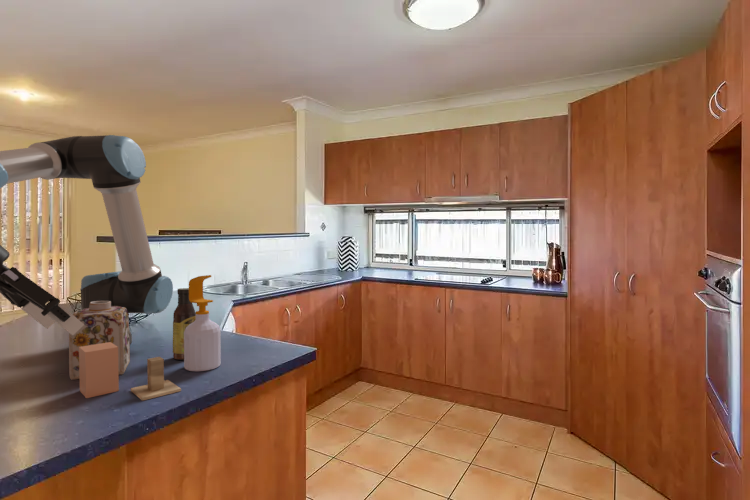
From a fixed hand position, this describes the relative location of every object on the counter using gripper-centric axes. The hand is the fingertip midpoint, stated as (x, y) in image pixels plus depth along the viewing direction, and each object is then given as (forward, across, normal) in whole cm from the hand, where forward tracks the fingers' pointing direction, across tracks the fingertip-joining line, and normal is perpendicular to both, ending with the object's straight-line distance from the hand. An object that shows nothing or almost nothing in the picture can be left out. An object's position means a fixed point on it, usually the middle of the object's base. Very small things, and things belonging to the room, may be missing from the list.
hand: (64, 326), depth 89 cm
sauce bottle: (+33, -10, +14) cm, 37 cm away
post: (+21, +9, 0) cm, 23 cm away
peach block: (+16, -1, -5) cm, 17 cm away
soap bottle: (+32, +2, +12) cm, 34 cm away
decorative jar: (+20, -16, 0) cm, 26 cm away
